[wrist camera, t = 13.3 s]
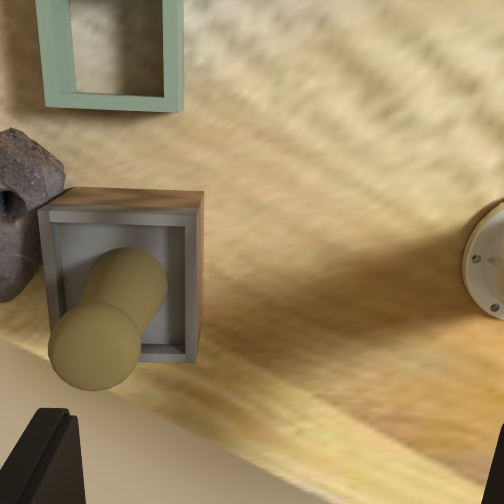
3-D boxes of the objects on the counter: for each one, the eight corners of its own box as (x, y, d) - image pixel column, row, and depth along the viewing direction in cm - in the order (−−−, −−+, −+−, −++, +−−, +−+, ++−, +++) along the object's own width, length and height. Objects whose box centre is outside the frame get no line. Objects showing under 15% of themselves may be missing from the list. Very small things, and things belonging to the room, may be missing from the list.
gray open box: (204, 191, 41) (196, 215, 33) (202, 315, 45) (195, 363, 37) (74, 186, 41) (37, 210, 33) (85, 313, 45) (53, 360, 37)
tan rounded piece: (83, 308, 37) (23, 395, 27) (97, 237, 35) (39, 301, 25) (159, 327, 38) (129, 418, 28) (177, 258, 36) (152, 329, 26)
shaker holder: (183, -24, 36) (176, -37, 32) (183, 109, 39) (178, 112, 35) (53, -31, 35) (30, -45, 31) (64, 104, 38) (45, 106, 35)
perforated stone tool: (43, 296, 44) (9, 333, 38) (-15, 277, 43) (-60, 312, 37) (86, 143, 40) (55, 155, 33) (22, 119, 39) (-21, 126, 32)
